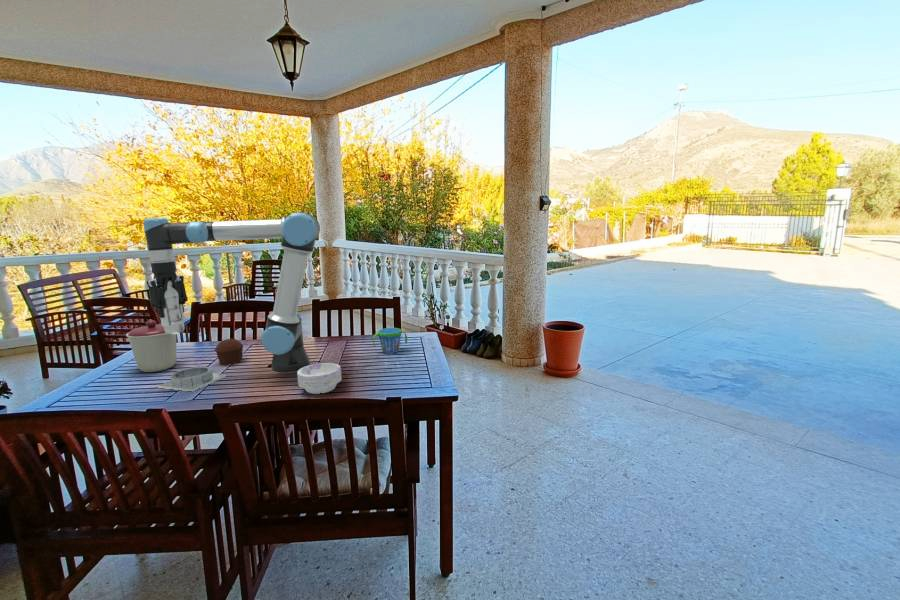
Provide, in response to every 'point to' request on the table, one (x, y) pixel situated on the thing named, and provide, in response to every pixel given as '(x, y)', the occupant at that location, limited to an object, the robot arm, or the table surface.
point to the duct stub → (192, 379)
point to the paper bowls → (319, 377)
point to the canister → (153, 347)
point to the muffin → (229, 351)
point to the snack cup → (390, 339)
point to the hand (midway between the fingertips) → (173, 323)
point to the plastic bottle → (173, 311)
